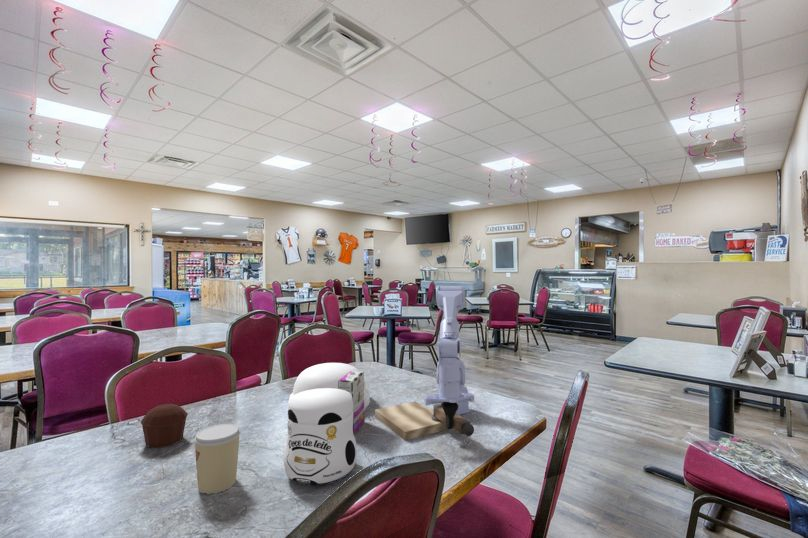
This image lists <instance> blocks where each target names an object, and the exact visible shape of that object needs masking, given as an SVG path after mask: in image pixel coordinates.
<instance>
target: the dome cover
mask: <svg viewBox="0 0 808 538" xmlns="http://www.w3.org/2000/svg"><path fill="white" fill-rule="evenodd" d="M350 371H360V370H359V369H358V368H357V367H355V366H353V365H351V364H347V363H343V362H325V363H324V362H323V363H318V364H315V365H312V366H310V367H307V368H305V369H304V370H303V371H301V372H300V373H299V375H298V376H297V378H296V379H295V382H294V385H293V388H292V389H293V390H292V393H291V394H290V395H289V398H288V400H289V399H290V398H291V397H292V396H293V395H295V394H297V393H300V392H303V391H307V390H312V389H320V388H335V389H338V380H340V379H341V378H342V377H344V376H345V375H346V374H347V373H349V372H350ZM370 397H371V394H370V391H369V390H368V388H367V387H366V382H365V380H364V411H366V408H367V407H368V406H369V405H370V404H371V398H370ZM369 403H370V404H369Z"/></svg>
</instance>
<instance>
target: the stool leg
mask: <svg viewBox="0 0 808 538" xmlns="http://www.w3.org/2000/svg"><path fill="white" fill-rule="evenodd" d="M432 411H433V415H434V417H436V418H438V419H439V420H441V421H442V422H444V423H445V424H446V415H445V412H444V410H443V407H442V405H441V403H440V404H433V409H432ZM452 430H453V431H455V432H457V433H458V434H460V435H465V436H466V437H471V436H473V434H474V432H475V427H474V426H473V424H472V423H471V421H469V420H468V419H467V418H464V417H463V416H461V414H460V415H458V414H456V413H455V415H454V417H453V429H452Z"/></svg>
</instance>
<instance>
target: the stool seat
mask: <svg viewBox="0 0 808 538" xmlns="http://www.w3.org/2000/svg"><path fill="white" fill-rule="evenodd" d="M374 418H375V419H376V420H377V421H379V422H380V423H382V424H383V425H384V426H386V427H387V428H388V429H389V430H391V431H392V433H395V435H396V436H398V437H400V438H401V439H402V440H403V441H409V440H412V439H417V438H419V437H421V438H422V437H424V436H429V435H431V434H435V433H439V432H443V431H447V430H448V429H447V427H446V424H445V423H444V422H442V421H441V420H439V419H438V418H436V417H434V415H433V409H432V410H431V409H430V408H428V407H426V405H425V406H424V404H423V405H422V404H421V403H419V402H417V401H412V402H411V401H410V402H405V403H401V404H397V405H396V404H395V405H391V406H386V407H381V408H377V409H375V410H374Z"/></svg>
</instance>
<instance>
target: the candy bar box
mask: <svg viewBox="0 0 808 538" xmlns="http://www.w3.org/2000/svg"><path fill="white" fill-rule="evenodd" d="M364 372H365V371H364V370H363V371H361V370H359V371H350V372H349V373H347V374H346V375H345V376H344V377H342V378H341V379H340V380H338V389H341V390H345V391H347V392H350V394H351V395H352V398H353V433H354V435H355V434H356V433H357V431H358V430H359V428H360V427H361V426H362V425H363V423H364V422H365V410H364V381H365V375H364Z"/></svg>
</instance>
